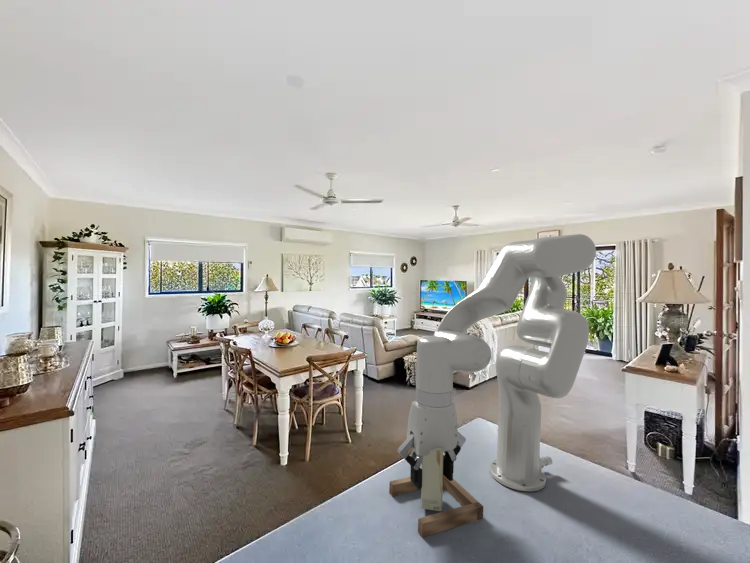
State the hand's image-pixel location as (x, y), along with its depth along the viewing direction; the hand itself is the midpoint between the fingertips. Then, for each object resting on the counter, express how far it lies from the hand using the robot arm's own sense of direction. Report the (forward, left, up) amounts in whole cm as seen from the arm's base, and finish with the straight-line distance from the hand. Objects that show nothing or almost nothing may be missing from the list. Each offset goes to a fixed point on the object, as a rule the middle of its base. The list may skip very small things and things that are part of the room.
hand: (432, 480), depth 72 cm
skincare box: (0, 0, -5) cm, 5 cm away
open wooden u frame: (-1, 0, -5) cm, 5 cm away
